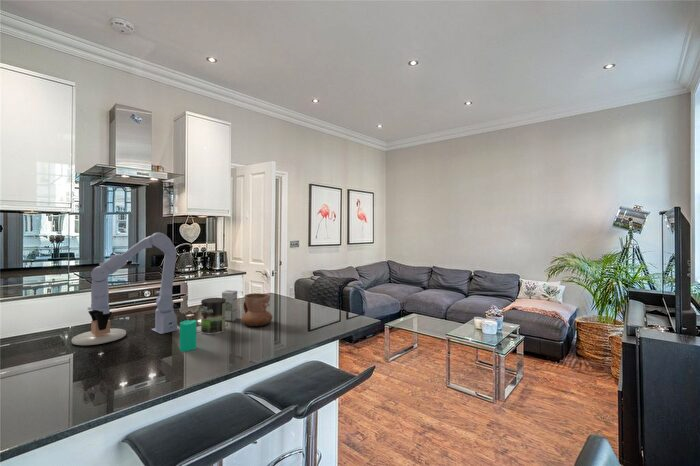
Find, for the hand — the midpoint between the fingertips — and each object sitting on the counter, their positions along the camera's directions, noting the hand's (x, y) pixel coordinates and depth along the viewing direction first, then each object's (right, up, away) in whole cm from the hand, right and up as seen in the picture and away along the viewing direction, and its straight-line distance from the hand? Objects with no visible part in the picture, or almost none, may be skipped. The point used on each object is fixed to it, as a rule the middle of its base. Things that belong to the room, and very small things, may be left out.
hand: (100, 328), depth 138 cm
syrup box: (+42, -5, +31) cm, 53 cm away
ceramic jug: (+58, -5, +25) cm, 63 cm away
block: (0, -2, 0) cm, 2 cm away
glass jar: (+42, -5, +13) cm, 44 cm away
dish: (0, -4, 0) cm, 4 cm away
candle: (+41, -6, -9) cm, 42 cm away
